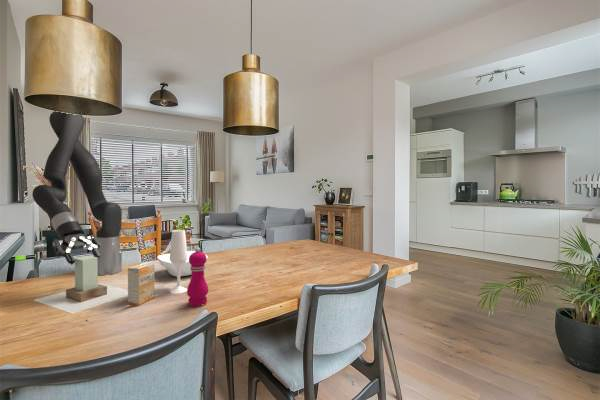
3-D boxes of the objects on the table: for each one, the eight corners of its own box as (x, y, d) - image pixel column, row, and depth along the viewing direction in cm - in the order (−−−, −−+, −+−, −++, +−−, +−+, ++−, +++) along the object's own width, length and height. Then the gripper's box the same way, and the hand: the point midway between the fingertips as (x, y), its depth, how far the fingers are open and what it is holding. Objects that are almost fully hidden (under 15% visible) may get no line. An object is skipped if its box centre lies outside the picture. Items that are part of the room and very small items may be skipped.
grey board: (98, 285, 127) (98, 282, 127) (136, 294, 116) (136, 292, 116) (33, 302, 107) (33, 300, 107) (72, 316, 96) (72, 313, 96)
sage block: (89, 284, 115) (89, 255, 114) (97, 287, 112) (97, 257, 112) (75, 288, 110) (74, 258, 110) (83, 291, 108) (82, 260, 108)
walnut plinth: (92, 290, 118) (92, 282, 117) (107, 294, 114) (106, 286, 113) (66, 297, 109) (65, 289, 109) (80, 302, 106) (80, 293, 105)
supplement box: (139, 306, 106) (139, 268, 105) (127, 304, 107) (127, 267, 106) (155, 297, 114) (155, 262, 113) (143, 296, 115) (143, 261, 114)
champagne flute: (167, 293, 118) (167, 232, 117) (172, 288, 124) (171, 229, 123) (185, 293, 119) (185, 231, 118) (189, 287, 125) (189, 229, 124)
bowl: (152, 273, 145) (152, 255, 144) (194, 266, 159) (194, 249, 158) (167, 284, 129) (167, 264, 129) (213, 275, 143) (213, 257, 143)
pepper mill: (197, 308, 104) (197, 250, 103) (182, 304, 108) (182, 248, 107) (212, 301, 111) (212, 247, 110) (198, 298, 114) (198, 244, 113)
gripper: (48, 222, 108) (68, 258, 104) (91, 218, 121) (110, 250, 117) (41, 236, 111) (60, 271, 106) (83, 230, 123) (101, 262, 119)
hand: (86, 260), depth 111 cm, fingers open, 8 cm apart
